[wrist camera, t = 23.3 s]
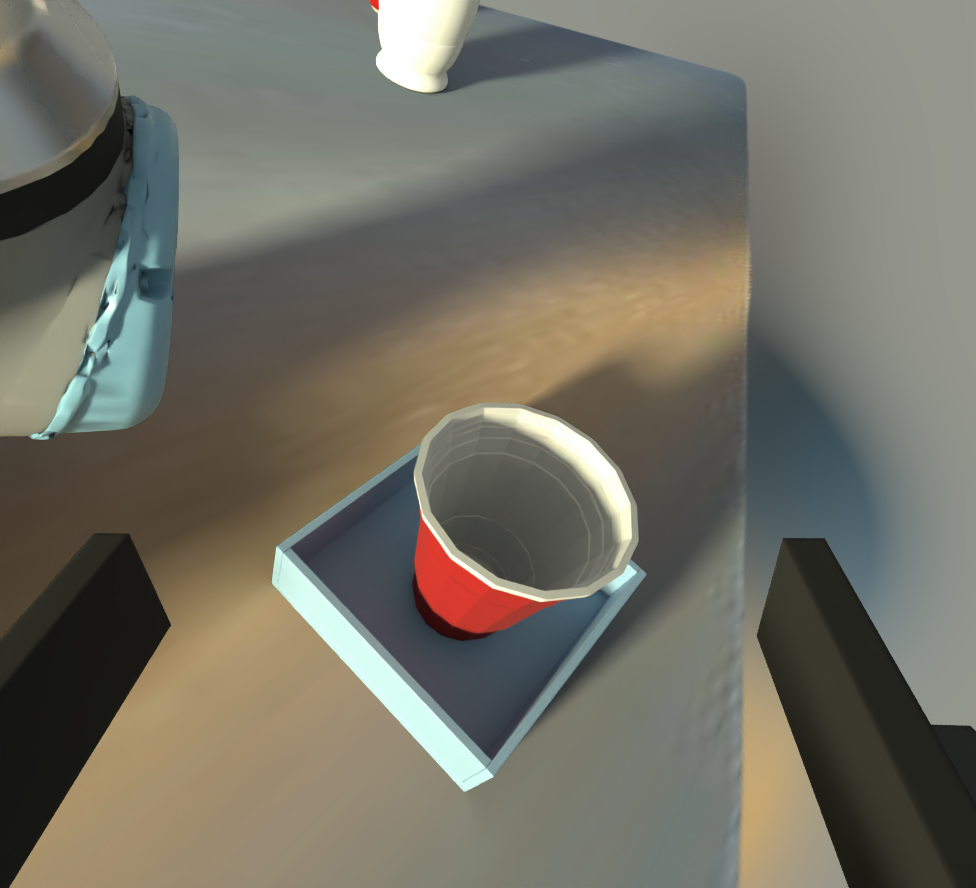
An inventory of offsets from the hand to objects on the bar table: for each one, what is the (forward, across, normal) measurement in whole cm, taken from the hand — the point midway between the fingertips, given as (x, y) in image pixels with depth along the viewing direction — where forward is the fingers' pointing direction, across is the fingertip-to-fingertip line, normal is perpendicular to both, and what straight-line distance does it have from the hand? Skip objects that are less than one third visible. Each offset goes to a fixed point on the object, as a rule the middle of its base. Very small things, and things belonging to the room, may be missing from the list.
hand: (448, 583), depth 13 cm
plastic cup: (+17, -3, -18) cm, 25 cm away
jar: (+76, -13, +6) cm, 77 cm away
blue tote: (+18, -3, -19) cm, 26 cm away
